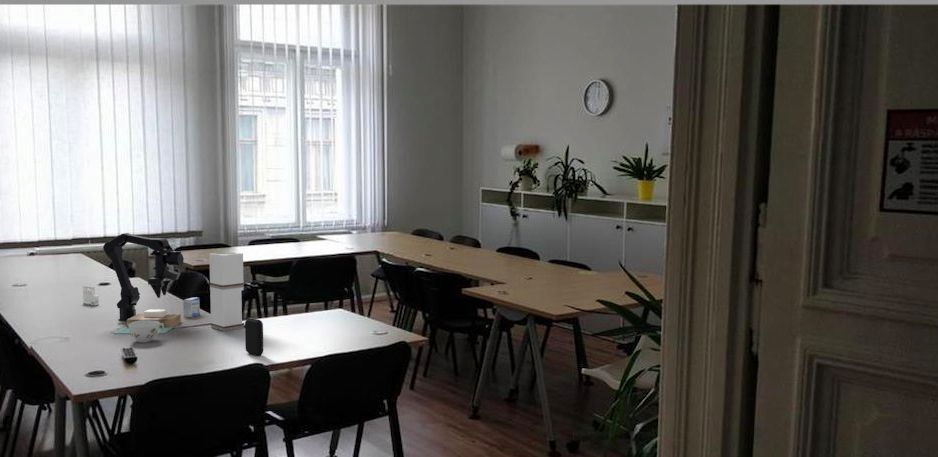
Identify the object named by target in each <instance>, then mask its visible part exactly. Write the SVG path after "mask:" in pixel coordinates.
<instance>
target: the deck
mask: <svg viewBox="0 0 938 457" xmlns="http://www.w3.org/2000/svg"><path fill="white" fill-rule="evenodd" d="M141 320H151V321H158V322H159V323H163V324H164V328H172V329H173V327H175V326H176V325H178V324H180V323H181V322H182V321H181V320H182V318H181V313H168V315H166V316H164V317H144V313H138V314H137V313H136V315H135V316H133V317H131V318H129V319H127V320H126V327H129V326H128V324H129V323H131V322H135V321H141ZM159 328H162V326H159Z"/></svg>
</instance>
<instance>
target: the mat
mask: <svg viewBox="0 0 938 457" xmlns="http://www.w3.org/2000/svg"><path fill="white" fill-rule="evenodd" d="M172 329H173V327H172V328H164V329H163V331H162V332H161V333H159V334H158V335H164V334H165V333H167V332H169V331H170V330H172ZM161 330H162V328H159V330H158V332H159V331H161ZM168 330H169V331H168ZM163 333H164V334H163ZM113 334H114V335H116V334H117V335H131V333H130V330H129V327H127V326H125V327H123V328H121V329H120V330H117V331H115V332H113Z"/></svg>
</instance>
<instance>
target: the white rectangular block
mask: <svg viewBox="0 0 938 457" xmlns="http://www.w3.org/2000/svg"><path fill="white" fill-rule="evenodd" d="M143 314H144V317H164V316H166V315H168V314H169V313H168V309H163V308H162V309H159V308H158V309H156V308H155V309H152V308H151V309H150V308H149V309H147V310H145V311H143Z"/></svg>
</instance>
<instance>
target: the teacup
mask: <svg viewBox="0 0 938 457" xmlns="http://www.w3.org/2000/svg"><path fill="white" fill-rule="evenodd" d="M128 326H129V330H130V333H131V334H130V335H131V337H132V338H133V340H135V341H136V342H138V343H149V342H151V341H153V339H154V338H156V336H157V335H160V334H159V333H161V332H162V331H163V329H164V324H163V323H159V322H158V321H151V320H141V321H135V322H131V323H129V324H128ZM159 326H162V330H161V331H159V332H158V330H159Z"/></svg>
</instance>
